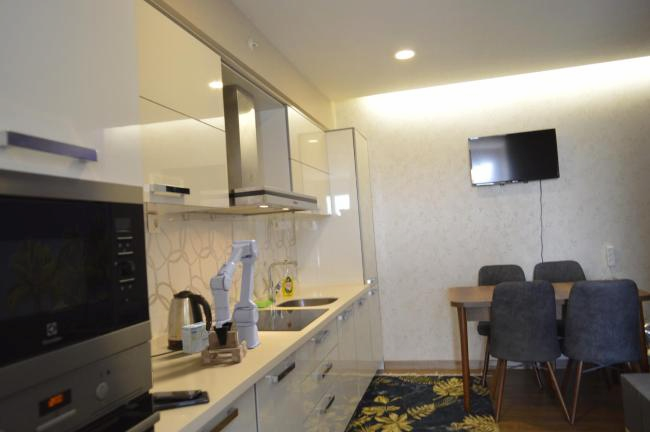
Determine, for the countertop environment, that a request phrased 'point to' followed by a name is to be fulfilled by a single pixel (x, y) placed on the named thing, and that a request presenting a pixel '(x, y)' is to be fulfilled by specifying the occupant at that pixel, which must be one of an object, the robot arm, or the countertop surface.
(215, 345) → the brown wooden block
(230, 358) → the wooden stool
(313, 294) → the countertop surface
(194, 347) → the light bulb box
